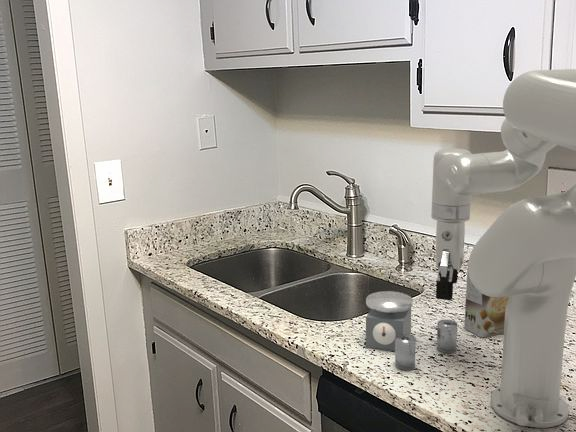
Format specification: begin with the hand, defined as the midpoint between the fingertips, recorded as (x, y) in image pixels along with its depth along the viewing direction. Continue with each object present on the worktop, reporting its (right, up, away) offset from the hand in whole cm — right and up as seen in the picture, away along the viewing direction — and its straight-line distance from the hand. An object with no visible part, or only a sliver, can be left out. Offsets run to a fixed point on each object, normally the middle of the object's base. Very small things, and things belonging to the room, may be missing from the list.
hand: (446, 290), depth 125 cm
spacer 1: (-10, -15, -4) cm, 18 cm away
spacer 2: (+1, -13, +2) cm, 13 cm away
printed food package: (+13, -11, +12) cm, 20 cm away
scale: (-11, -12, +8) cm, 18 cm away
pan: (-11, -5, +6) cm, 14 cm away
